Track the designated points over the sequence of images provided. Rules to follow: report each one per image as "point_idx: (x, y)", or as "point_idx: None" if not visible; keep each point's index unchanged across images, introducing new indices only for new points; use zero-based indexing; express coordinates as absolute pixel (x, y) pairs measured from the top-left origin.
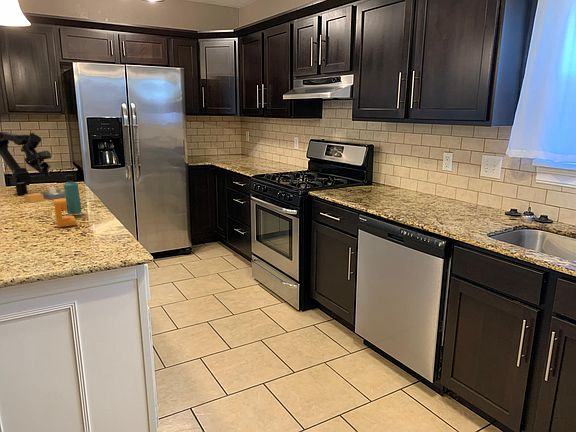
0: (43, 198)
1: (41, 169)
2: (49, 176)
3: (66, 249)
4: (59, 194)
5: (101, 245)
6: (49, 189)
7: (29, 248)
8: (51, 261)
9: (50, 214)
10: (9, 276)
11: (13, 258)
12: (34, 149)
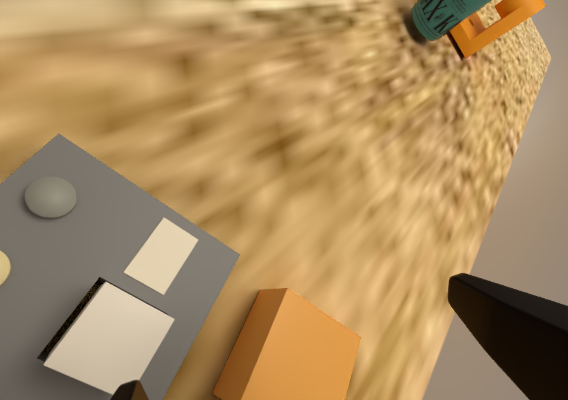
0: (270, 290)
1: (515, 300)
2: (136, 384)
3: None
4: (172, 210)
5: None
6: (167, 327)
7: (524, 63)
8: (525, 26)
9: (427, 104)
10: (548, 56)
11: (539, 70)
12: None
